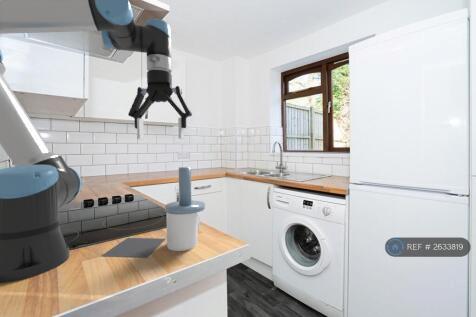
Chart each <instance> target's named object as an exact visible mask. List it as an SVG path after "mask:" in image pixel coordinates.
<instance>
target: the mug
mask: <svg viewBox="0 0 476 317" xmlns="http://www.w3.org/2000/svg"><path fill="white" fill-rule="evenodd" d="M165 213H166V216H165V218H166V246H167V249H168V250H170V251H173V252H182V251H184V252H185V251H188V250H189V251H190V250H191V249H194V248H195V247H196V246H197V245H198V231H199V230H200V229H199V228H200V226H201V217H200V214H199V212H197V213H192V214H170V213H167V212H166V211H165Z"/></svg>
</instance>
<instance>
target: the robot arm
mask: <svg viewBox="0 0 476 317" xmlns="http://www.w3.org/2000/svg"><path fill="white" fill-rule="evenodd" d="M131 6H132V4H131V3H130V0H0V35H3V34H4V35H5V34H8V35H9V34H33V33H35V34H36V33H37V34H38V33H67V32H68V33H72V32H73V33H74V32H75V33H76V32H101V33H100V34H101V40H102V43H103V45H104V46H105V48H108V49H112V50H115V51H128V52H136V53H146V70H147V72H146V80H147V81H146V84H147V87H146V88H145V87H143V88H142V87H140V86H139V87H137V92H136V95H135V98H134V100H133V102H132V105H131V107H130V109H129V112H128V117H131V118H133V119H134V128H135V129H137V130H136V132H137V133H136V134H137V139H138V140H145V136H144V135H145V132H144V129H145V128H144V119H143V118H142V117H144V115H145V114H146V112H147V111H148V110H149V108H150V107H151V106H152V105H153V104H154V103H161V102H162V103H166V102H168V103H169V104H170V106H171V107H173V109H174V110H175V111H176V112H177V114H178V115H179V116H180V117H178V120H177V121H178V139H180V140H183V139H184V135H185V134H184V130H185V129H186V128H187V118H189V117H192V116H193V113H192V112H191V109H190V107H189V105H188V103H187V101H186V99H185V98H184V94H183V90H182V88H181V87H180V86H179V85H176V86H175V87H173V86H172V85H173V83H172V81H173V80H172V79H173V75H172V74H171V73H172V72H173V71H172V69H173V68H172V35H171V33H172V31H171V27H170V26H171V25H169V24H168V22H167V21H165V20H163V19H160V18H157V17H155V18H149V19H147V20H146V22H145V25H140V24H139V25H138V24H135V19H134V10H133V8H132V7H131ZM3 61H4V58H3V52H2V50H1V49H0V146H1V148H2V149H3V150H4V152H5V153H6V155H7V156H8V158H9V159H10V160H11V162H12V164H13V165H14V166H9V167H5V168H0V284H6V283H12V282H18V281H22V280H26V279H30V278H34V277H36V276H39V275H42V274H45V273H48V272H50V271H52V270H55V269H56V268H58V267H60V266H61V265H63V264H64V263H65V262H66V261H68V259H69V258H70V248H69V245H67V243H66V241H65V240H66V239H65V238H64V235H63V233H62V230H61V228H60V227H61V226H60V208H62V207H64V206H66V205H68V204H69V203H71V202H72V201H73V200H75V199H76V197H78V195H79V194H80V192H81V189H82V186H83V185H82V183H83V182H82V178H81V176H80V174H79V172H77V171H76V170H75V169H74V168H72V167H69V166H68V165H67V163H66V161H65V159H64V158H63V157H62V155H61V154H59V153H54V152H52V151H51V149H50V147H49V146H48V144H47V143H46V142H45V139H44V138H43V137H42V135H41V133H40V132H39V131H38V128H36V126H35V124H34V122H33V121H32V119H31V118H30V116H29V115H28V113H27V112H26V109H24V107H23V105H22V103H21V102H20V100H19V99H18V98H17V95H16V94H15V93H14V91H13V89H12V88H11V87H10V85H9V83H8V82H7V80H6V79H5V77H4V74H5V72H6V66H5V65H4V63H3ZM173 94H175V95H176V96H177V99H178V101H179V102H180V104H181V106H182V108H181V107H180V105H178V104H177V103H176V102H175V100H174V99H173V97H172V95H173ZM146 95H147V96H146ZM145 96H146V98H145ZM144 99H145V100H144ZM143 100H144V102H143ZM182 109H183V110H184V111H183V110H182Z"/></svg>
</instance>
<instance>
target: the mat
mask: <svg viewBox="0 0 476 317" xmlns="http://www.w3.org/2000/svg"><path fill="white" fill-rule="evenodd" d="M165 240H166V238H157V237H156V238H154V237H153V238H150V237H126V238H125V239H123V240H121V241H120V242H119V243H118V244H116V245H115V246H113V247H112V248H110V249H109V250H107V251H106V252H105V253H103V254H102V255H101V257H103V258H104V257H105V258H107V257H110V258H140V259H141V258H142V259H143V258H144V259H145V258H146V259H148V258H149V257H150V255H151V254H152V253H153V252H155V250H156V249H157V248H159V246H160V245H162V243H163V242H164V241H165Z"/></svg>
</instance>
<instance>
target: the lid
mask: <svg viewBox="0 0 476 317" xmlns="http://www.w3.org/2000/svg"><path fill="white" fill-rule="evenodd" d="M205 209H206V203H205V202H204V201H201V200H194V199H193V200H192V167H190V166H183V167H178V200H177V201H176V200H175V201H172V202H169V203H167V204H165V205H164V211H165V213H166V212H167V213H170V214H192V213H197V212H198V213H200V212H203V211H204V210H205Z"/></svg>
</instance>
